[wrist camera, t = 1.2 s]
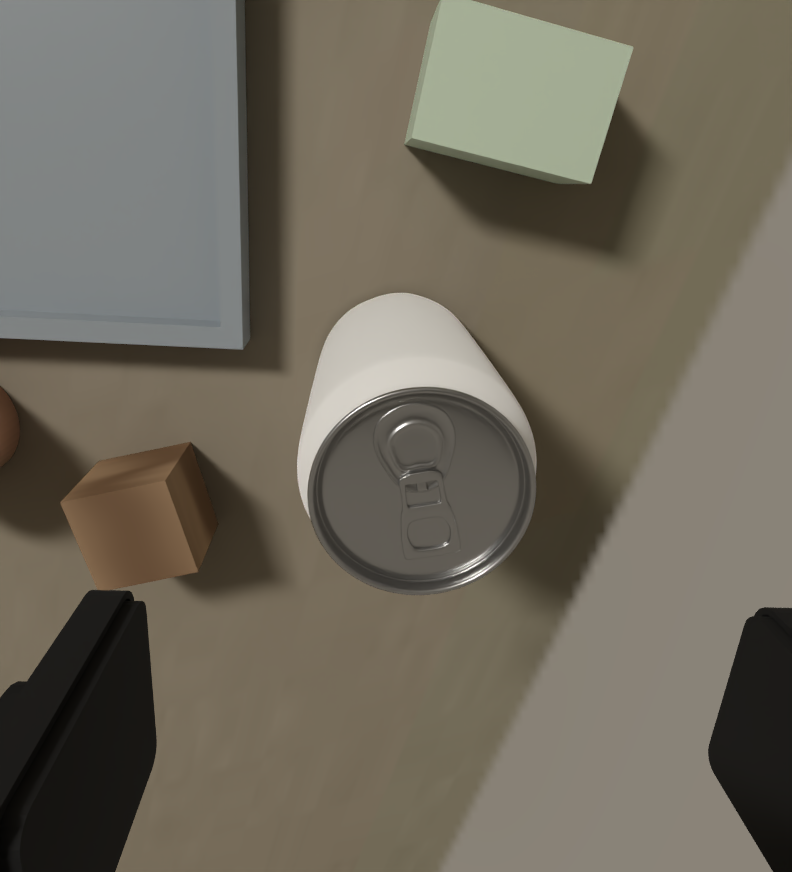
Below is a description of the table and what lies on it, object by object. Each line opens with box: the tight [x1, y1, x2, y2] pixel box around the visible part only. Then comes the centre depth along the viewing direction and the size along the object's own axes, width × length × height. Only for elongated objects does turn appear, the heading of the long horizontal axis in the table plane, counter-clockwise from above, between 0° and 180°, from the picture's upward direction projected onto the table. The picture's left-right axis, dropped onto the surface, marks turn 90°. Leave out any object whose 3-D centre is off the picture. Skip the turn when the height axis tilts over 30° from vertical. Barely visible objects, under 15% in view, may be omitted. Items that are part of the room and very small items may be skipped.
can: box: [297, 293, 537, 595], centre depth 22 cm, size 6×6×12 cm
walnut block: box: [60, 442, 218, 590], centre depth 27 cm, size 4×4×4 cm
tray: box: [0, 0, 250, 350], centre depth 22 cm, size 16×16×2 cm
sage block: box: [404, 0, 633, 184], centre depth 22 cm, size 6×4×4 cm, turn 77°
